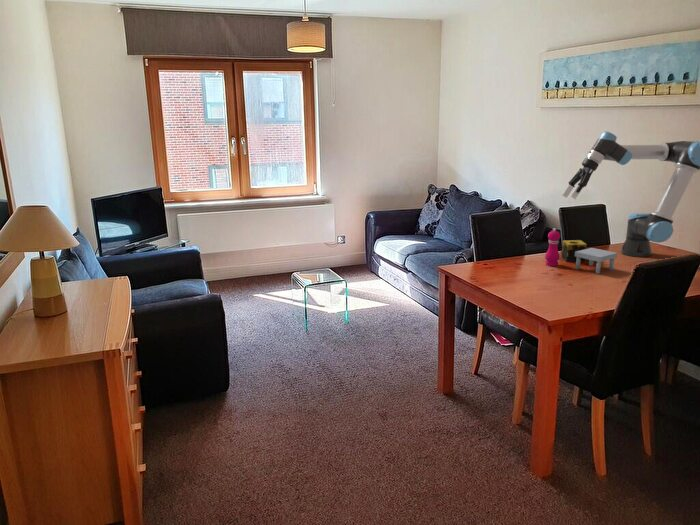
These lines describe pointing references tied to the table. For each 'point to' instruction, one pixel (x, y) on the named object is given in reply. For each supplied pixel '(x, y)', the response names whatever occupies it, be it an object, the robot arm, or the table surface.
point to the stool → (595, 257)
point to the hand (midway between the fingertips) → (568, 197)
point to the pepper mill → (553, 248)
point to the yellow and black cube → (572, 250)
